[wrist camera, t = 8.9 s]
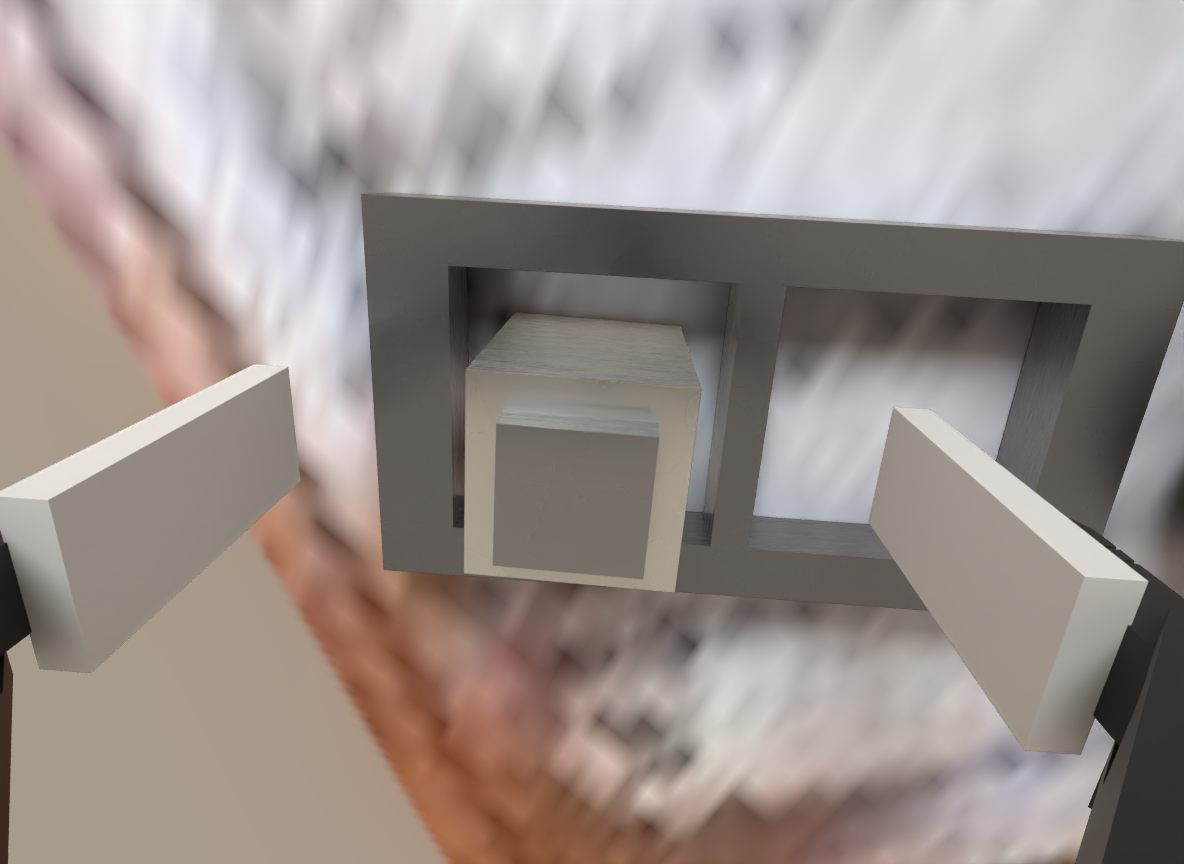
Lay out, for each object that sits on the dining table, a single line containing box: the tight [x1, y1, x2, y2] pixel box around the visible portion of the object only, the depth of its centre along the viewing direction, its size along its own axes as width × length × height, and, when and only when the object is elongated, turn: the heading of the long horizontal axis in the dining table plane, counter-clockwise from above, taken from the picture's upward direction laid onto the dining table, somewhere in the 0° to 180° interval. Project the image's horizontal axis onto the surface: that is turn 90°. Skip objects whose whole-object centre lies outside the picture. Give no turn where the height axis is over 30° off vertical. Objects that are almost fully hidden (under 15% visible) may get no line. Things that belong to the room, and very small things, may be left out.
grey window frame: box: [361, 193, 1184, 611], centre depth 18 cm, size 10×19×2 cm, turn 87°
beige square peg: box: [464, 313, 702, 593], centre depth 16 cm, size 4×4×7 cm
